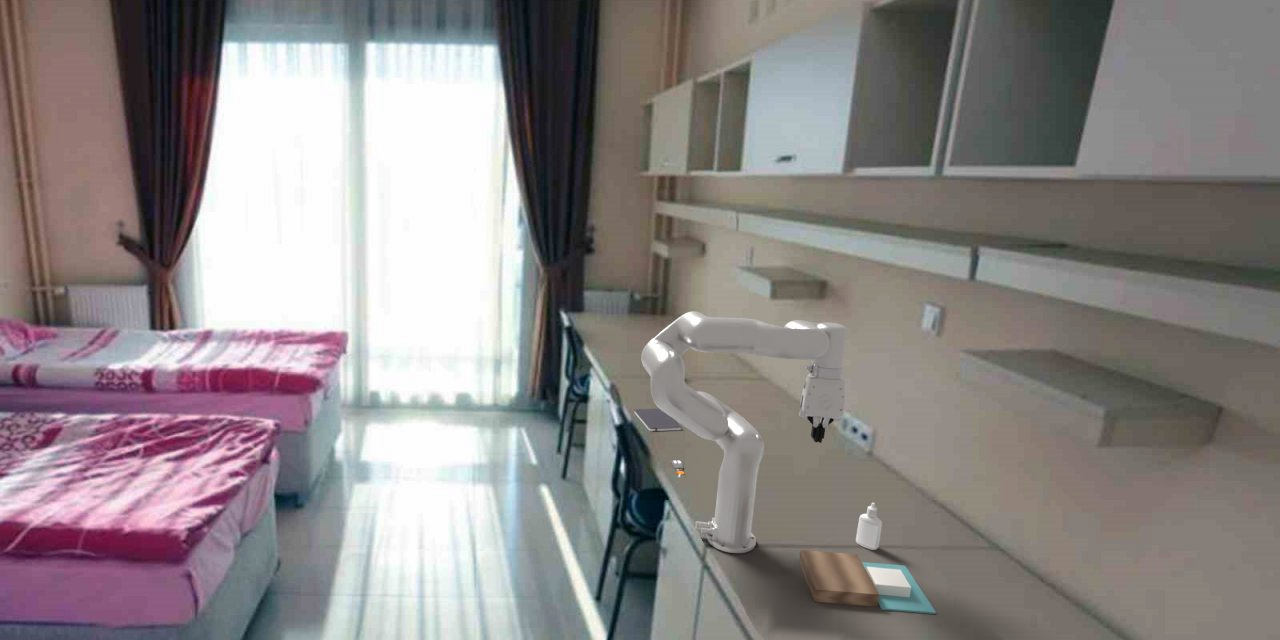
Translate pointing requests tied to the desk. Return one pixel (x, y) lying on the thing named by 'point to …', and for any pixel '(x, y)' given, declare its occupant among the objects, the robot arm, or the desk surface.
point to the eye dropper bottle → (869, 529)
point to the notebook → (657, 420)
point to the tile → (889, 581)
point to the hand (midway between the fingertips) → (816, 440)
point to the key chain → (678, 466)
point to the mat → (907, 604)
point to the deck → (838, 578)
